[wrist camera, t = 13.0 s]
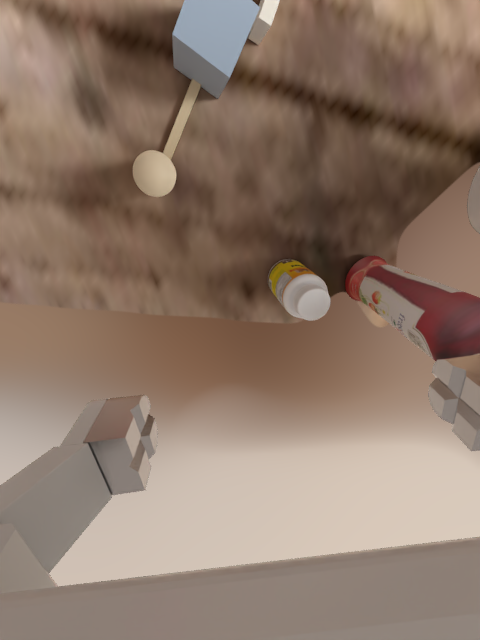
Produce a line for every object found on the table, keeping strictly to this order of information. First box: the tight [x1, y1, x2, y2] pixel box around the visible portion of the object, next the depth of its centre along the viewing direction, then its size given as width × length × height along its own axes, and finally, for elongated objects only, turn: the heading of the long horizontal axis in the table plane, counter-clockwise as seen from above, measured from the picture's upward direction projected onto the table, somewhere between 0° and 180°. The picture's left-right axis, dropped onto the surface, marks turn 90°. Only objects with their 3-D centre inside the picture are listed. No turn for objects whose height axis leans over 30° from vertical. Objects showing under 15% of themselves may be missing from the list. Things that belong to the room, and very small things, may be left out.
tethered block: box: [133, 0, 260, 197], centre depth 27 cm, size 16×5×9 cm, turn 151°
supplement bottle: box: [268, 259, 330, 320], centre depth 37 cm, size 6×6×10 cm
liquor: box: [345, 256, 480, 361], centre depth 32 cm, size 7×7×28 cm
